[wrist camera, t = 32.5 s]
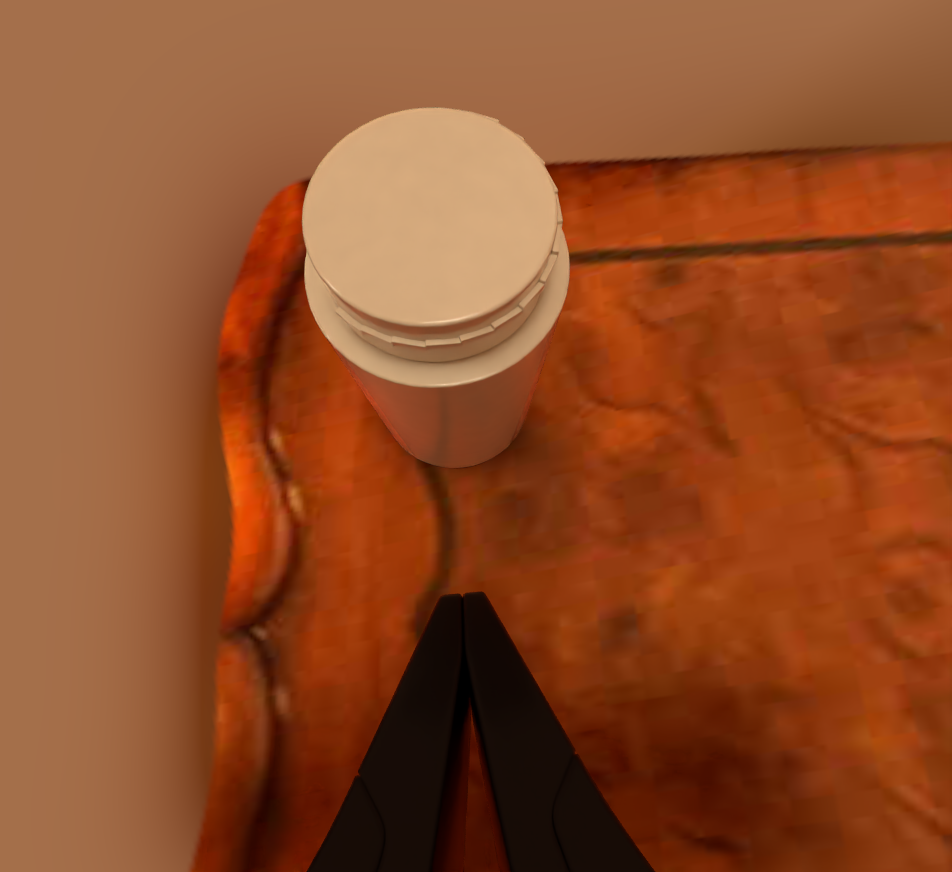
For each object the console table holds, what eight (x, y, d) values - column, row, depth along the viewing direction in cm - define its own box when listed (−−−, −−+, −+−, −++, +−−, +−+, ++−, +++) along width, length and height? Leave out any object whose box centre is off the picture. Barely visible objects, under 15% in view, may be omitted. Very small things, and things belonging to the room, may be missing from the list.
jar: (494, 492, 18) (513, 405, 8) (355, 432, 18) (212, 280, 8) (551, 360, 19) (630, 142, 9) (420, 307, 19) (361, 49, 10)
